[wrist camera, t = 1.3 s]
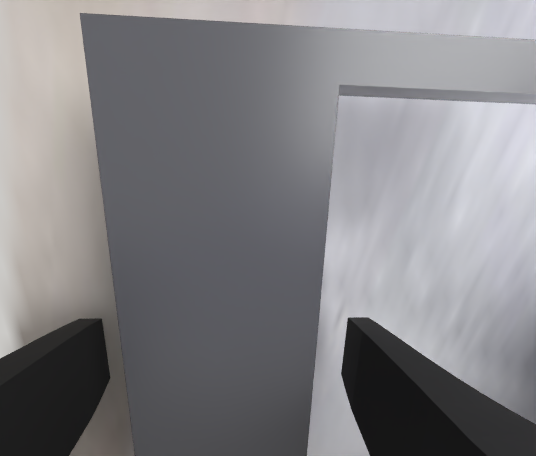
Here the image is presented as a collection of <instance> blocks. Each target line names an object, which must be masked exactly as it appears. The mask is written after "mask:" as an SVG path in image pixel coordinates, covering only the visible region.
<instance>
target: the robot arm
mask: <svg viewBox="0 0 536 456" xmlns="http://www.w3.org/2000/svg"><path fill="white" fill-rule="evenodd" d="M341 375H342V378H343V382H344V386H345V389H346V393H347V396H348V400H349V403H350V406H351V410H352V412H353V415H354V417H355V420H356V422H357V425H358V427H359V429H360V432H361V434H362V437H363V439H364V442H365V444H366V446H367V449H368V451H369V454H370V456H536V424H534V423H532V422H530V421H529V420H527V419H525V418H523V417H521V416H520V415H518V414H516V413H514V412H512V411H511V410H509V409H507V408H505V407H504V406H502V405H500V404H499V403H497V402H495V401H494V400H492V399H490V398H488V397H487V396H485V395H484V394H482V393H480V392H479V391H477V390H476V389H474V388H472V387H471V386H469V385H468V384H466V383H464V382H463V381H461V380H460V379H458V378H456V377H455V376H453V375H452V374H450V373H449V372H447V371H446V370H444V369H443V368H441V367H440V366H438V365H437V364H435V363H434V362H432V361H431V360H429V359H428V358H426V357H425V356H423V355H422V354H421V353H419V352H418V351H416V350H415V349H413V348H412V347H410V346H409V345H408V344H406V343H405V342H403V341H402V340H401V339H399V338H398V337H396V336H395V335H393V334H392V333H391V332H389V331H388V330H386V329H385V328H383V327H382V326H380V325H379V324H377V323H376V322H374V321H373V320H371V319H369V318H348V322H347V330H346V339H345V347H344V356H343V364H342V372H341ZM109 380H110V373H109V366H108V359H107V352H106V345H105V338H104V331H103V324H102V319H78V320H76V321H74V322H71V323H69V324H67V325H65V326H63V327H61V328H59V329H57V330H55V331H53V332H51V333H49V334H47V335H45V336H43V337H41V338H39V339H37V340H35V341H33V342H31V343H29V344H28V345H26V346H24V347H22V348H20V349H18V350H16V351H14V352H12V353H10V354H8V355H6V356H4V357H3V358H1V359H0V456H69V455H70V453H71V451H72V450H73V448H74V446H75V445H76V443H77V441H78V440H79V438H80V436H81V435H82V433H83V431H84V430H85V428H86V426H87V425H88V423H89V421H90V420H91V418H92V416H93V414H94V412H95V410H96V408H97V406H98V404H99V402H100V400H101V398H102V395H103V393H104V391H105V389H106V386H107V384H108V382H109Z"/></svg>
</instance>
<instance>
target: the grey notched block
mask: <svg viewBox="0 0 536 456" xmlns="http://www.w3.org/2000/svg"><path fill="white" fill-rule="evenodd" d="M80 19H81V27H82V35H83V43H84V51H85V59H86V67H87V75H88V83H89V91H90V99H91V107H92V115H93V123H94V131H95V139H96V147H97V155H98V163H99V171H100V179H101V187H102V195H103V203H104V211H105V219H106V227H107V235H108V243H109V251H110V259H111V267H112V275H113V283H114V291H115V299H116V307H117V315H118V323H119V331H120V339H121V347H122V355H123V363H124V371H125V379H126V387H127V395H128V403H129V411H130V419H131V427H132V435H133V443H134V451H135V456H307V446H308V435H309V424H310V412H311V401H312V390H313V378H314V367H315V356H316V344H317V333H318V322H319V310H320V299H321V288H322V277H323V265H324V254H325V243H326V231H327V220H328V209H329V197H330V186H331V175H332V163H333V152H334V141H335V129H336V118H337V107H338V96H339V95H340V96H362V97H385V98H407V99H430V100H452V101H475V102H497V103H520V104H536V40H530V39H513V38H496V37H479V36H462V35H445V34H428V33H411V32H394V31H377V30H360V29H343V28H326V27H309V26H292V25H275V24H258V23H241V22H224V21H206V20H189V19H172V18H155V17H138V16H121V15H104V14H87V13H80Z"/></svg>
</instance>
